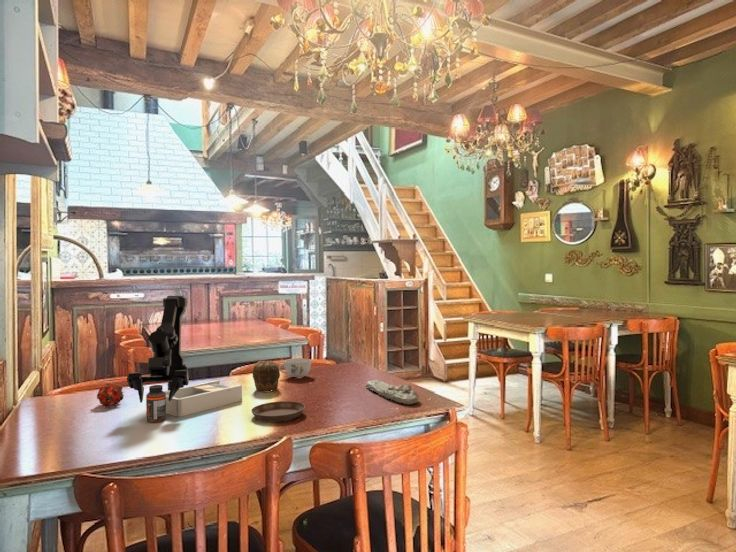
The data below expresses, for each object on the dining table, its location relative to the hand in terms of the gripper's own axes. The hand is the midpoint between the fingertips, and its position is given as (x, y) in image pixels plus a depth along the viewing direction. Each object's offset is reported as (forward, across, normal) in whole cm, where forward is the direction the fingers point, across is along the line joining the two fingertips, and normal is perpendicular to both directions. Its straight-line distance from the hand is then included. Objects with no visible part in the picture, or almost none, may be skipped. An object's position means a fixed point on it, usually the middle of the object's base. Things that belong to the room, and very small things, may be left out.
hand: (155, 401), depth 162 cm
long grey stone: (-5, +83, +15) cm, 84 cm away
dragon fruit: (-14, -21, +23) cm, 34 cm away
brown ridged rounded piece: (-20, +36, +30) cm, 50 cm away
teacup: (-35, +49, +45) cm, 75 cm away
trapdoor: (-12, +16, +18) cm, 27 cm away
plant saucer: (+8, +39, +3) cm, 40 cm away
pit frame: (-8, +11, +17) cm, 22 cm away
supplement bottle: (+4, 0, +6) cm, 7 cm away
